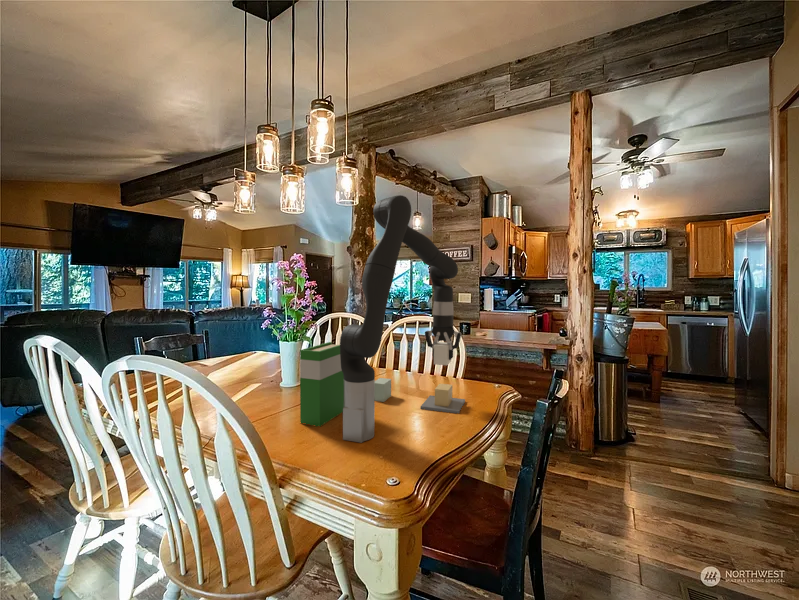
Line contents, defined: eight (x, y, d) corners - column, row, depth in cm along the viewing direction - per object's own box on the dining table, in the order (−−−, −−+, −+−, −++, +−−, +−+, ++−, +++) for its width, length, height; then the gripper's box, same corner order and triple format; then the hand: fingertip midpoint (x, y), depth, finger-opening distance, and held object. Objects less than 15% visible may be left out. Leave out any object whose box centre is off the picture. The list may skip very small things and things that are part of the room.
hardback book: (329, 406, 136) (329, 342, 135) (347, 409, 134) (347, 343, 132) (300, 423, 120) (300, 350, 119) (319, 426, 117) (319, 351, 116)
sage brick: (383, 402, 142) (384, 384, 142) (371, 400, 144) (372, 382, 143) (391, 396, 150) (391, 379, 149) (379, 394, 151) (379, 377, 151)
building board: (458, 413, 130) (459, 394, 129) (420, 409, 134) (420, 390, 134) (465, 401, 143) (465, 383, 143) (430, 397, 148) (430, 380, 147)
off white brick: (447, 365, 134) (447, 346, 134) (433, 364, 135) (433, 345, 135) (451, 360, 141) (451, 342, 141) (438, 360, 143) (438, 342, 143)
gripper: (422, 313, 136) (421, 359, 137) (460, 315, 132) (460, 362, 133) (426, 312, 143) (426, 355, 144) (464, 313, 139) (463, 358, 140)
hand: (442, 358), depth 138 cm, fingers closed on off white brick, 5 cm apart
